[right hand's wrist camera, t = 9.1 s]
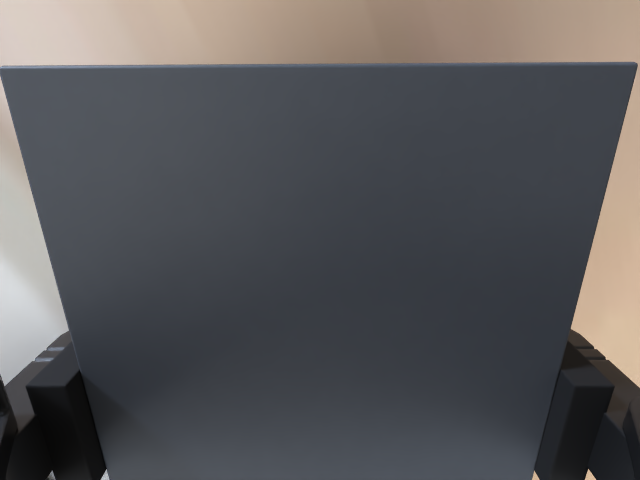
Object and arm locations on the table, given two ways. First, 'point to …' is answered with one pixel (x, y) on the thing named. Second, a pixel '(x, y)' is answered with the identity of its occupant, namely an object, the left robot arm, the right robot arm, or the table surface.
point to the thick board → (319, 257)
